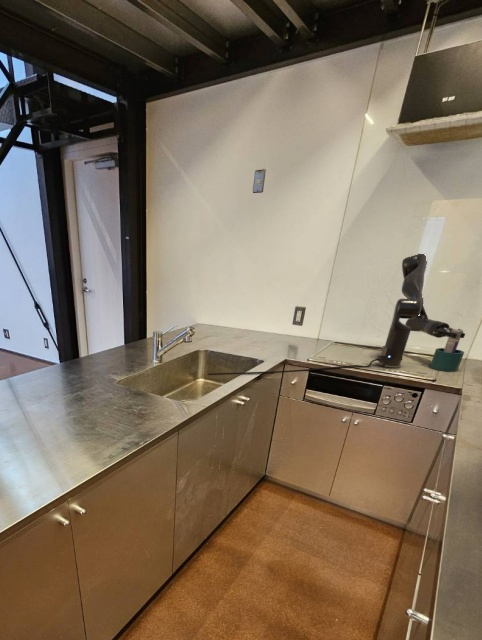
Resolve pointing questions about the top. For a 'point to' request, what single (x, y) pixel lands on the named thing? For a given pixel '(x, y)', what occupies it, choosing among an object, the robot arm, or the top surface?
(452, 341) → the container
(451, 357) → the teal pen cup
